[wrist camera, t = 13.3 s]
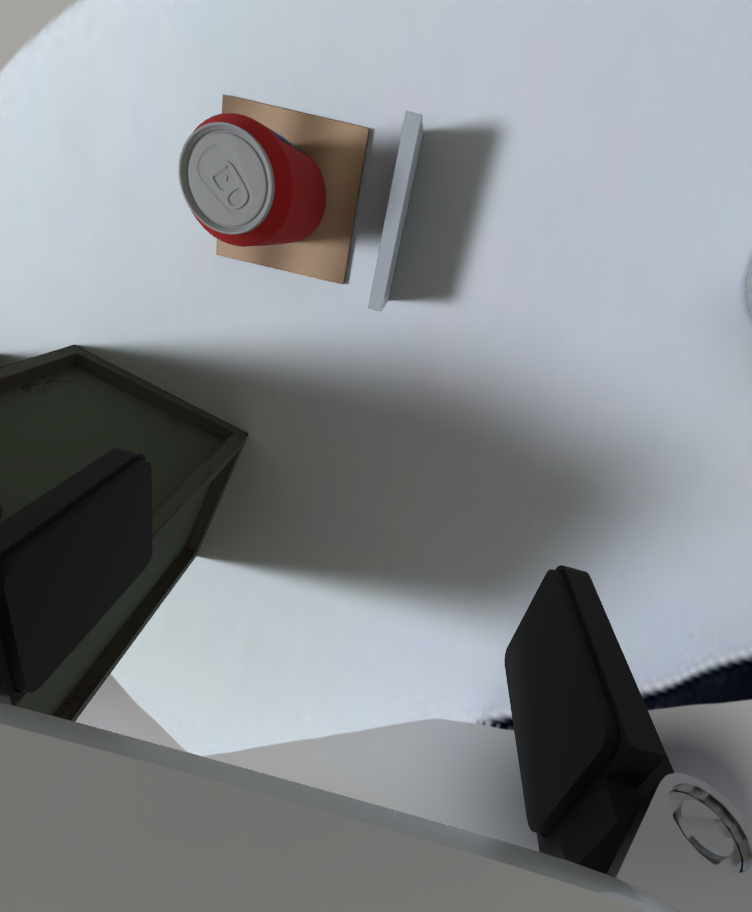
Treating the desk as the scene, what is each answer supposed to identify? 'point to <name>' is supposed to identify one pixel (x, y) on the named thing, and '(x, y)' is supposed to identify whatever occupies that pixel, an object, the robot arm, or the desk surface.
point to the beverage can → (250, 183)
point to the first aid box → (82, 442)
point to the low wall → (397, 209)
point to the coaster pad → (341, 169)
